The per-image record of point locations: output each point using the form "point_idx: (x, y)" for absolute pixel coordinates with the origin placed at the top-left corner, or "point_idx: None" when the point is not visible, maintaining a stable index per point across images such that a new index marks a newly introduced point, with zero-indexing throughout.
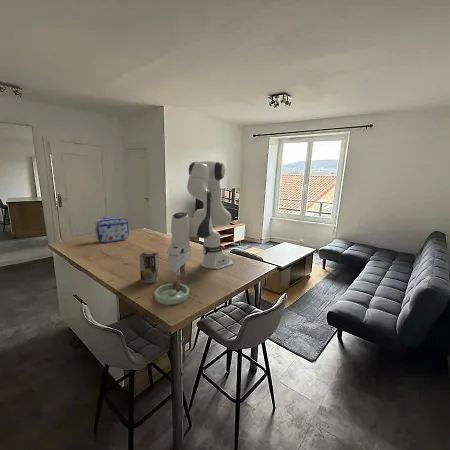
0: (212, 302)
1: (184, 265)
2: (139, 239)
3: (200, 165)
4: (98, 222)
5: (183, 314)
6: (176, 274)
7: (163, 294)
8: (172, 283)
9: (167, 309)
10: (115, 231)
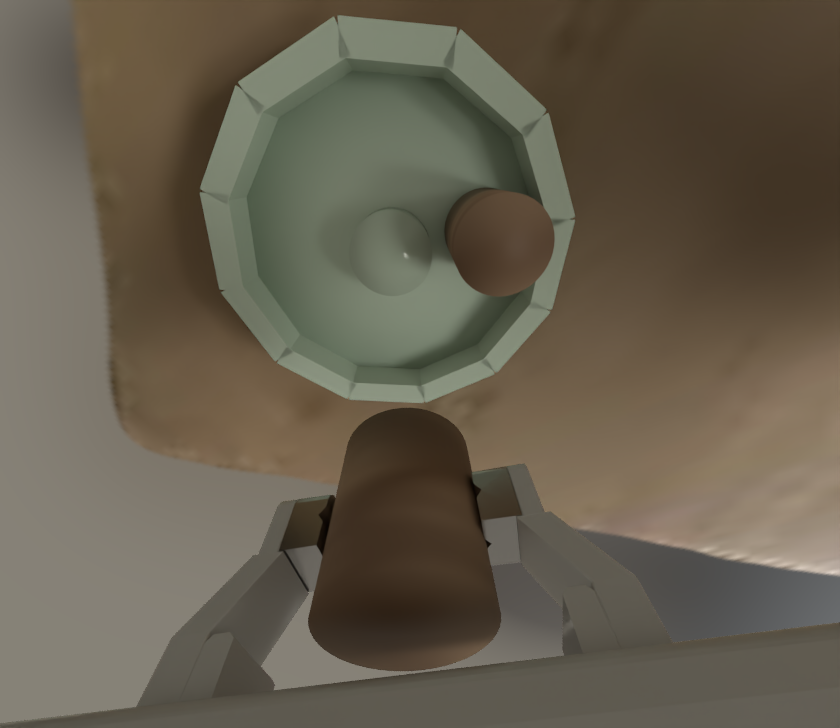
0: None
1: (556, 592)
2: None
3: None
4: None
5: (248, 442)
6: (277, 511)
7: (343, 162)
8: (464, 211)
9: (216, 333)
10: None
